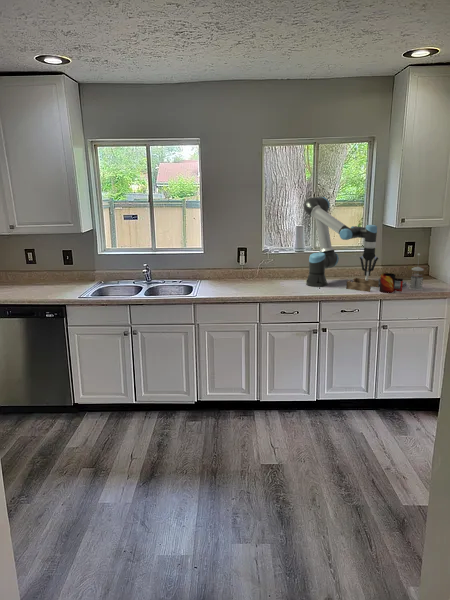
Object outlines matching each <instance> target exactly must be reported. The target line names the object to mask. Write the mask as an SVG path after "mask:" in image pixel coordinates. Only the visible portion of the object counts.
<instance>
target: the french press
mask: <svg viewBox="0 0 450 600" xmlns="http://www.w3.org/2000/svg"><path fill="white" fill-rule="evenodd" d="M417 256H421V253H419V252H418V253H417ZM419 261H420V259H419V258H418V261H417V264H420V263H419ZM411 271H414V273H412V274H411V276H410V284H409V285H410V286H409V287H408V289H409V290H412V289H413V291H422V290H421V289H423V290H424V287H423V282H424V276H423V274H421V273H420V274H419V272H422V271H425V269H424V267H423V268H422V267H420V266H414V267H412V268H411ZM416 272H417V273H416Z"/></svg>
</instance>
